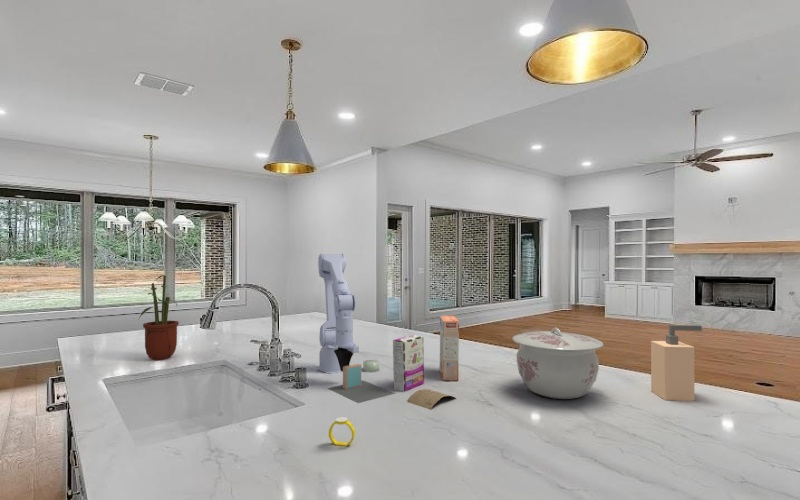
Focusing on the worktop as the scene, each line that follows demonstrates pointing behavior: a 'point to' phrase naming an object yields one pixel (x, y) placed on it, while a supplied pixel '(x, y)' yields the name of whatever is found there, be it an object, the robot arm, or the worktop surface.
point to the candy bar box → (408, 362)
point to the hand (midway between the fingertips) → (344, 370)
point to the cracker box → (449, 348)
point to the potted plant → (160, 329)
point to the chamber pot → (557, 363)
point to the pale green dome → (371, 366)
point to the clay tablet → (425, 398)
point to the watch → (341, 421)
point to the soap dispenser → (673, 366)
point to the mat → (362, 392)
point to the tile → (352, 376)
